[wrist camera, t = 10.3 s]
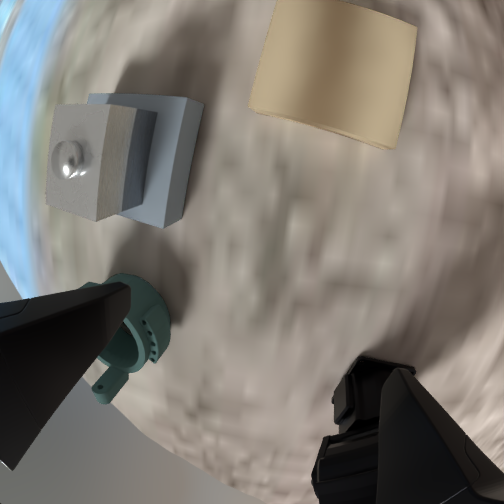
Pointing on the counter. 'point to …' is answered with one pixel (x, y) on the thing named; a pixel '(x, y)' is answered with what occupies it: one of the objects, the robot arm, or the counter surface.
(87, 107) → the block
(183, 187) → the stand slate
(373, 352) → the counter surface
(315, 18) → the stand oak
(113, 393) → the bracket
